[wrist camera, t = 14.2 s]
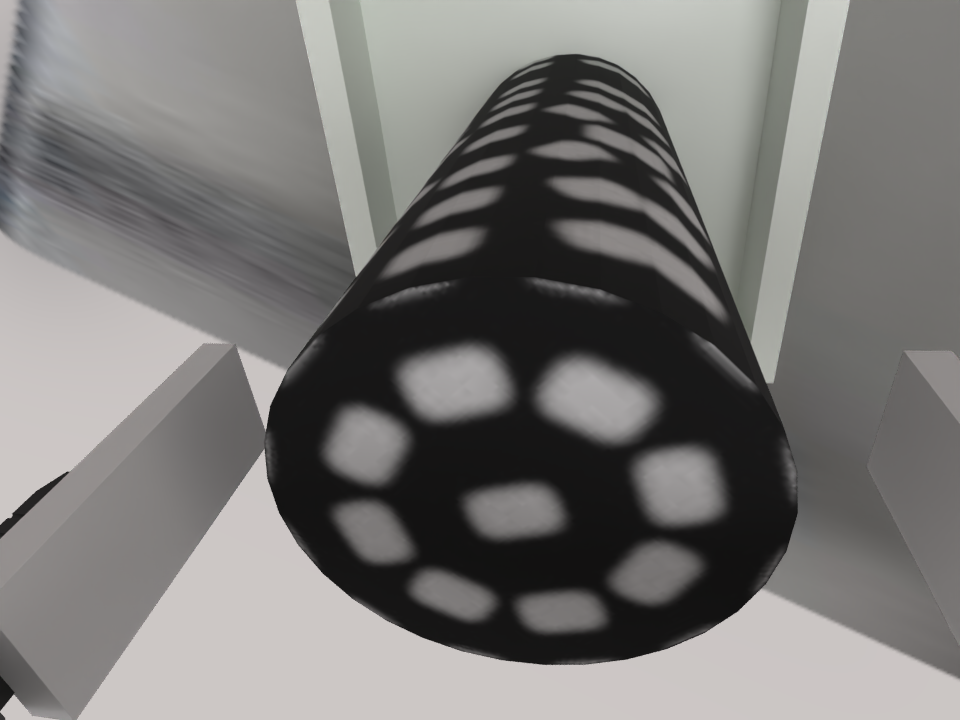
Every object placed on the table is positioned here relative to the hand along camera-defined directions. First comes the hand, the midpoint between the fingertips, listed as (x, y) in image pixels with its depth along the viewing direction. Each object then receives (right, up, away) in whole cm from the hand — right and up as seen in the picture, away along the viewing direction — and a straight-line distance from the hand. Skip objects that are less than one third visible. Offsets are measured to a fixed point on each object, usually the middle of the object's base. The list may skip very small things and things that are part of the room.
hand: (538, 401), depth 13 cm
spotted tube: (+2, +9, +14) cm, 17 cm away
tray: (+3, +10, +15) cm, 18 cm away
